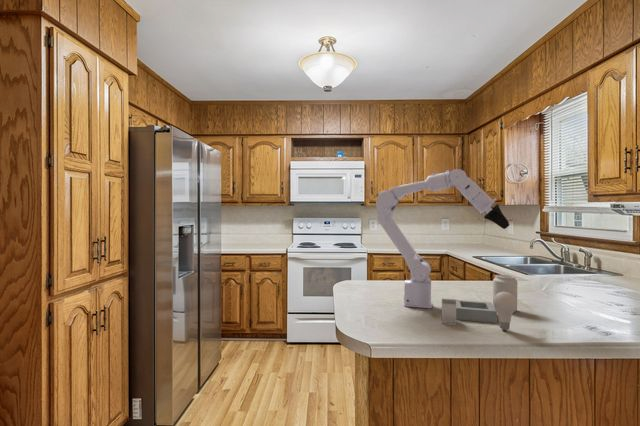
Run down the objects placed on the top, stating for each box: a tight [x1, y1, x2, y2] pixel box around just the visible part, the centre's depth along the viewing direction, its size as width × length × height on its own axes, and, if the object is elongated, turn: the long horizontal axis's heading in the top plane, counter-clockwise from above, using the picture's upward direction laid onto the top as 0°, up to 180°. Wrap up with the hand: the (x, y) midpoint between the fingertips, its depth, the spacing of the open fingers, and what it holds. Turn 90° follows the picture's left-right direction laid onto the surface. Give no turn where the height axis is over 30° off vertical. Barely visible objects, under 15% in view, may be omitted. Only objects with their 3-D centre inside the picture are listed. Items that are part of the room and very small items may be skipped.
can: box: [492, 274, 518, 313], centre depth 126 cm, size 8×8×12 cm
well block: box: [453, 298, 498, 324], centre depth 119 cm, size 12×12×4 cm
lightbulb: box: [492, 292, 518, 332], centre depth 104 cm, size 6×6×11 cm
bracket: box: [441, 298, 457, 326], centre depth 112 cm, size 4×5×7 cm
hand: (506, 226), depth 121 cm, fingers open, 7 cm apart
